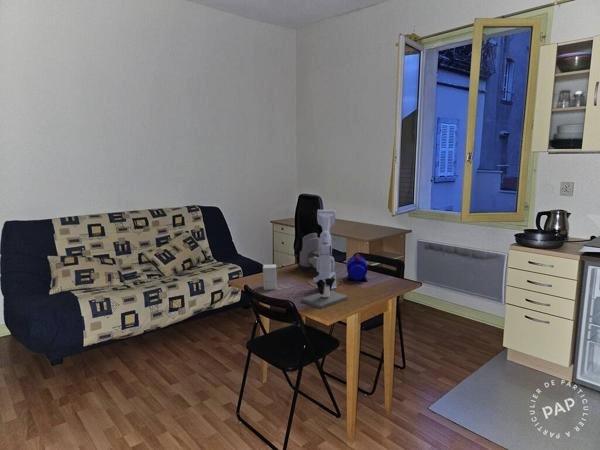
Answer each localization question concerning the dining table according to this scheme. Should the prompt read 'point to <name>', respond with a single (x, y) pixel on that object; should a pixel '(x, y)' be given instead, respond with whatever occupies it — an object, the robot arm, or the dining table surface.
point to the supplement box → (269, 277)
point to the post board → (324, 299)
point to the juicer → (309, 254)
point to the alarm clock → (357, 268)
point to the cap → (326, 291)
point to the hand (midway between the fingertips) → (324, 292)
